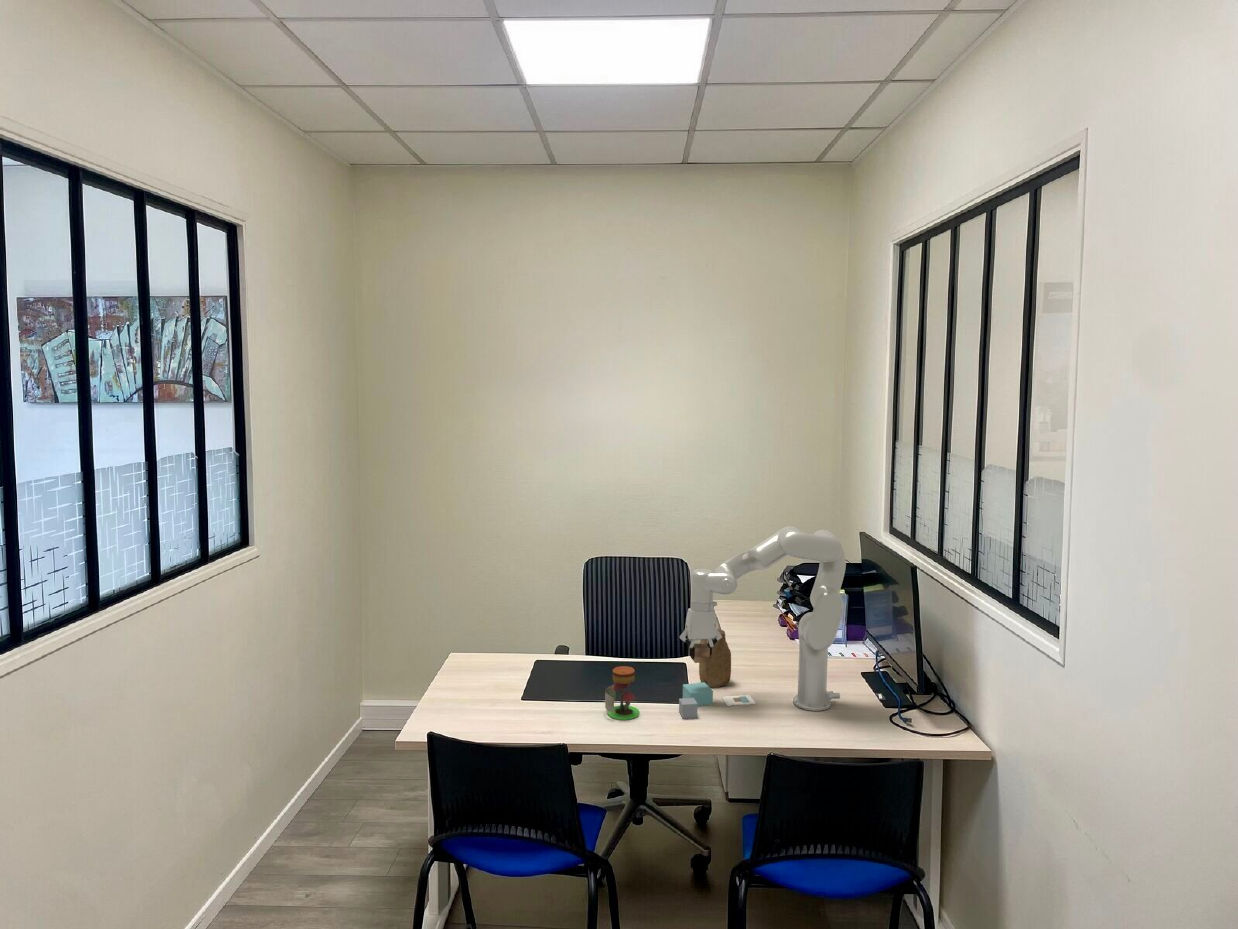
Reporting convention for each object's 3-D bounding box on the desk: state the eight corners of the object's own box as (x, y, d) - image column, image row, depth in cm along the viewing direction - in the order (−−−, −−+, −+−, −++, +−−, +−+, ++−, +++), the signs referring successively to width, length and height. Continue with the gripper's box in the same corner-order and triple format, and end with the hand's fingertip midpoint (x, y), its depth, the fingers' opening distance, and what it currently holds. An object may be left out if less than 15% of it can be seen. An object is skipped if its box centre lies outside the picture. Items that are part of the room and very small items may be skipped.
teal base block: (704, 696, 290) (704, 682, 290) (712, 705, 283) (712, 691, 282) (682, 698, 288) (682, 684, 288) (690, 707, 280) (690, 693, 280)
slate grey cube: (693, 712, 276) (693, 697, 276) (697, 718, 272) (697, 703, 271) (678, 713, 276) (679, 698, 275) (682, 719, 271) (682, 704, 270)
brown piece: (703, 689, 296) (704, 634, 294) (697, 681, 303) (698, 628, 301) (732, 687, 298) (733, 633, 295) (726, 679, 305) (727, 626, 303)
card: (749, 696, 290) (749, 694, 290) (755, 704, 283) (755, 702, 283) (721, 697, 288) (721, 696, 288) (727, 706, 281) (727, 704, 281)
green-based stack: (636, 704, 282) (637, 661, 281) (644, 719, 270) (644, 675, 268) (602, 706, 280) (602, 663, 279) (608, 722, 268) (608, 677, 266)
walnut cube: (705, 657, 286) (705, 643, 285) (709, 662, 281) (709, 648, 280) (691, 657, 285) (691, 643, 284) (695, 663, 280) (695, 648, 279)
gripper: (722, 602, 286) (721, 653, 288) (674, 603, 283) (673, 655, 285) (729, 608, 278) (727, 660, 280) (679, 610, 275) (678, 662, 278)
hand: (700, 657), depth 283 cm, fingers closed on walnut cube, 5 cm apart
